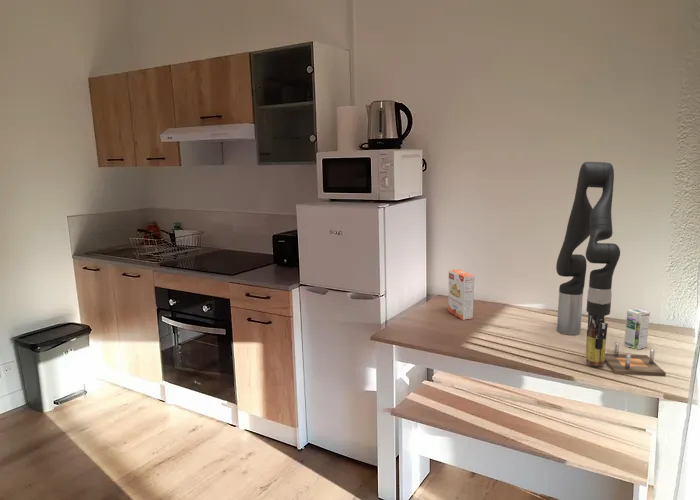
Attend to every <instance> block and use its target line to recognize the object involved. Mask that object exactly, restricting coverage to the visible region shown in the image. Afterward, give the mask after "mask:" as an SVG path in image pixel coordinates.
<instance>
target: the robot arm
mask: <svg viewBox="0 0 700 500" xmlns="http://www.w3.org/2000/svg"><path fill="white" fill-rule="evenodd" d="M614 171H615V170H614V166H613V164H612V163H610V162H605V161H585V162H583V163H582V164H581V166H580V168H579V173H578V178H577V182H576V189H575V195H574V198H573V203H572V208H571V210H570V214H569V218H568V221H567V226H566V229H565V230H566V231H565V235H564V240H563V243H562V245H561V248H560V251H559V253H558V257H557V260H556V265H555V266H556V267H555V269H556V273H557V275H558V276H560V277H565V278H566V277H568V278H569V277H572V278H571V279H570V280H568V281H566V282H563V283H561V284H560V285H559V289H558V307H557V322H556V332H557V333H560V334H562V335H568V336H578V335H581V332H582V331H581V328H582V316H583V315H582V313H583V299H584V288H585V285H586V284H585V283H586V282H585V281H586V276H587V275H586V274H587V266H588V265H587V261H588V262H589V263H590V264H604V266H603V267H602V268H598V269H593V270H591V271H590V272H589V281H588V290H587V296H586V297H587V298H586V310H585V311H586V312H587V314H588V315H587V327H588V326H589V325H590V322H591V314H593V315H596V319H592V324H593V327H594V332H595V334H596V341H595V348H596V349H600V350H601V349H602V346H603V339H606V340H607V333H608V325H609V324H608V323H607V322H606V319H605V316H606V317H607V316H608V315H609V316H610V314H611V308H612V295H613V294H612V293H613V292H612V285H613V276H614V273H615V269H616V267H617V264H618V262H619V259H620V257H621V250H620V249H621V248H620V247H619V245H618V244H617V243H613V242H612V243H609V242H608V243H607V242H600V241H604V240H608V239H611V238H612V236H613V220H612V207H613V205H612V204H613V198H614V197H613V196H614V195H613V193H614V182H615V181H614V180H615V172H614ZM588 188H600V189H601V188H602V194H601V196H600V197H599V199H598V201H597V202H596V204H595V205H594V206H592V205H591V202H590V200H589V198H588V195H587V192H588ZM588 238H589V240H588V244H587V247H586V250H585V255H583V254H578V253H577V254H573V253H574V251H575V250H576V249H577V248H578V247H579V246H580V245H581V244H583V242H585V241H586V240H587V239H588ZM596 328H598V330H597V329H596ZM601 333H602V334H601ZM600 334H601V335H602V336H600Z"/></svg>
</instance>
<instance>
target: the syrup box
mask: <svg viewBox="0 0 700 500" xmlns="http://www.w3.org/2000/svg"><path fill="white" fill-rule="evenodd" d="M650 314H651V313H650V312H649V311H646V310H642V309H639V308H631V309H627V311H626V319H625V320H626V322H625V332H624V342H623V345H624V346H625V347H628V348H630V347H631V348H630V349H633V350H635V349H638V350H642V349H641V348H643V349H646V348H647V344H648V335H649V324H650V318H651V317H650V316H651V315H650ZM645 347H646V348H645Z"/></svg>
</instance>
